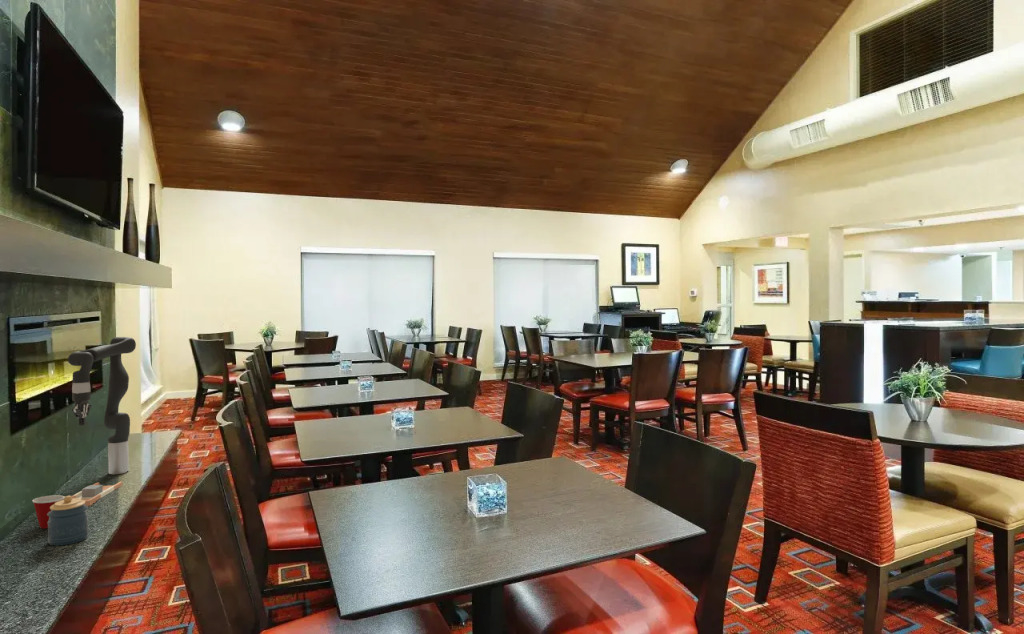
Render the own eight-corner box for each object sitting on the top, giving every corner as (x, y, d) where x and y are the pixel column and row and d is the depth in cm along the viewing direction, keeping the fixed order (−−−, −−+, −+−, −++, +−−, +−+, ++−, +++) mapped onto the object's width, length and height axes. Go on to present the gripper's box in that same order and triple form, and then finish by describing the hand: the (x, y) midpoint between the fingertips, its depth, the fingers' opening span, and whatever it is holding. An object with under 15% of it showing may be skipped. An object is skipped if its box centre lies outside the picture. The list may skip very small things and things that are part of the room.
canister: (65, 533, 239) (64, 490, 238) (96, 533, 238) (95, 490, 238) (39, 546, 226) (38, 501, 225) (71, 546, 225) (70, 501, 225)
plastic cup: (71, 523, 249) (70, 495, 249) (41, 532, 239) (41, 503, 239) (56, 519, 253) (55, 492, 253) (27, 528, 244) (26, 499, 243)
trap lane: (97, 487, 297) (97, 482, 297) (122, 486, 299) (122, 481, 299) (61, 507, 269) (61, 501, 269) (89, 505, 270) (89, 500, 270)
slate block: (89, 493, 286) (89, 485, 286) (102, 492, 287) (102, 484, 287) (81, 497, 280) (81, 489, 280) (95, 497, 281) (95, 488, 281)
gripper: (81, 389, 302) (81, 422, 303) (65, 393, 289) (66, 428, 290) (96, 389, 303) (97, 422, 304) (81, 393, 290) (82, 427, 291)
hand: (82, 425), depth 297 cm, fingers closed
